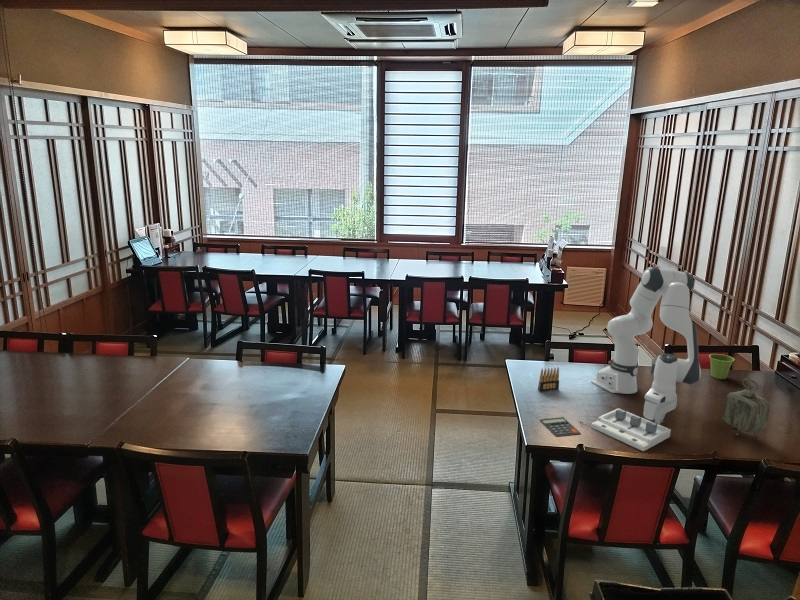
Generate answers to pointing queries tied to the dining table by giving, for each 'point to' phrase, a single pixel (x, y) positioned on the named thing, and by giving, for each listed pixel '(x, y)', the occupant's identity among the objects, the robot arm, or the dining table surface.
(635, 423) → the tab
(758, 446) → the dining table surface
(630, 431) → the switch bank
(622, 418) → the tab
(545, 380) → the ammunition clip
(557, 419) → the calculator
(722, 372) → the plant pot
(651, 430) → the tab
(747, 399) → the tabletop clock
